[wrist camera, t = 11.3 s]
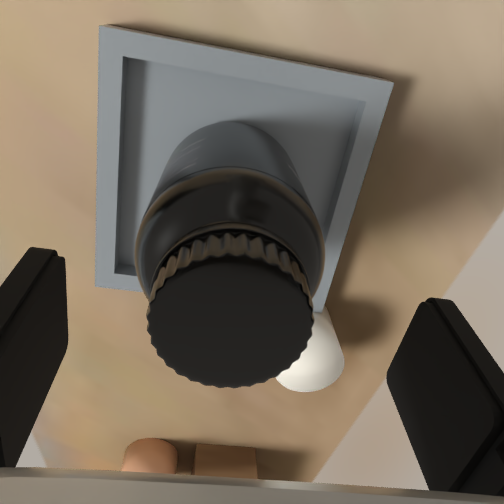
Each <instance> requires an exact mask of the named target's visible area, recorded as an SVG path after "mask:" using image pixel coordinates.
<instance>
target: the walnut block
mask: <svg viewBox="0 0 504 504" xmlns="http://www.w3.org/2000/svg"><path fill="white" fill-rule="evenodd" d="M191 475H198V476H215V477H232V478H248V479H258V477H257V463H256V449H255V448H251V447H238V446H224V445H210V444H197V446H196V451H195V456H194V462H193V467H192V473H191Z"/></svg>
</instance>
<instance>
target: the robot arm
mask: <svg viewBox="0 0 504 504" xmlns="http://www.w3.org/2000/svg"><path fill="white" fill-rule="evenodd" d="M67 345H68V318H67V293H66V268H65V258H64V257H60V256H58V254H57V251H56V250H52V249H44V248H36V247H30V248H29V249H28V250H27V252H26V253H25V254H24V256H23V257H22V258H21V260H20V261H19V262H18V264H17V265H16V266H15V268H14V269H13V270H12V272H11V273H10V274H9V276H8V277H7V278H6V280H5V281H4V282H3V284H2V285H1V286H0V504H504V373H503V371H502V370H501V369H500V367H499V366H498V364H497V363H496V362H495V361H494V359H493V357H492V356H491V354H490V353H489V352H488V350H487V349H486V347H485V346H484V345H483V343H482V342H481V340H480V339H479V338H478V336H477V335H476V334H475V332H474V330H473V329H472V327H471V326H470V325H469V323H468V322H467V320H466V319H465V318H464V316H463V315H462V313H461V312H460V311H459V309H458V308H457V306H456V305H455V303H454V302H453V301H451V300H447V299H439V298H428V299H427V300H426V301H425V302H421V303H420V304H419V306H418V308H417V310H416V312H415V314H414V316H413V319H412V321H411V323H410V325H409V327H408V329H407V331H406V333H405V335H404V337H403V339H402V342H401V344H400V346H399V348H398V350H397V352H396V354H395V356H394V358H393V360H392V363H391V365H390V367H389V369H388V371H387V384H388V387H389V389H390V392H391V394H392V397H393V400H394V402H395V405H396V407H397V410H398V412H399V415H400V417H401V420H402V422H403V425H404V427H405V430H406V432H407V435H408V437H409V440H410V443H411V445H412V447H413V450H414V453H415V455H416V458H417V460H418V463H419V465H420V467H421V470H422V473H423V475H424V478H425V480H426V483H427V485H428V488H429V491H428V490H415V489H399V488H386V487H385V488H384V487H371V486H357V485H341V484H326V483H311V482H296V481H280V480H264V479H248V478H232V477H215V476H198V475H181V474H164V473H147V472H129V471H111V470H88V469H64V468H40V467H39V468H38V467H28V468H27V467H26V468H25V467H17V468H16V464H17V462H18V460H19V458H20V455H21V453H22V451H23V448H24V446H25V444H26V441H27V439H28V437H29V435H30V433H31V430H32V428H33V426H34V423H35V421H36V419H37V417H38V414H39V412H40V410H41V408H42V405H43V403H44V401H45V398H46V396H47V394H48V392H49V389H50V387H51V385H52V382H53V380H54V378H55V376H56V373H57V371H58V369H59V367H60V364H61V362H62V360H63V357H64V355H65V353H66V350H67Z"/></svg>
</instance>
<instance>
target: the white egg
mask: <svg viewBox="0 0 504 504" xmlns="http://www.w3.org/2000/svg"><path fill="white" fill-rule="evenodd" d="M313 315H314V324H313V327H312V336H311V338H310V339H309V340H308V342H307V348H306V349H305V350H304V351H303V352H302V353H301V356H300V358H299V359H298V360H297V361H295V362H293V363H292V365H291V367H290V368H289V369H287V370H284V371H282V372H281V373H280V374H279V375H278V376H277V377H276V379H277V380H278V381H279V382H280V383H281V384H282V385H283V386H284V387H286V388H288V389H291V390H294V391H298V392H312V391H317V390H320V389H323V388H325V387H327V386H329V385H331V384H332V383H333V382H334V381H336V380H337V379H338V377H339V376H340V375H341V373H342V371H343V368H344V356H343V353H342V350H341V347H340V344H339V342H338V339H337V336H336V333H335V330H334V327H333V324H332V321H331V318H330V315H329V313H328V310H327V308H326V307H325V306H324V307H323V310H322V313H318V312H313Z"/></svg>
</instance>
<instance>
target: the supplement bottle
mask: <svg viewBox="0 0 504 504" xmlns="http://www.w3.org/2000/svg"><path fill="white" fill-rule="evenodd" d="M134 260H135V269H136V273H137V278H138V280H139V283H140V286H141V288H142V290H143V292H144V294H145V296H146V298H147V299H148V301H149V306H148V309H147V313H146V316H147V320H148V325H147V331H148V333H149V334H150V335H151V344H152V345H153V346H154V347H155V348H156V349H157V355H158V356H159V357H161V358H162V359H164V361H165V363H166V365H167V366H168V367H170V368H173V369H174V370H175V371H176V373H177V374H179V375H182V376H186V377H187V378H188V379H189V380H190V381H195V382H200V383H201V384H203V385H206V386H212V385H213V386H216V387H218V388H224V387H231V388H238V387H241V386H248V387H250V386H252V385H254V384H256V383H264V382H266V381H267V380H268V379H270V378H274V377H277V376H278V375H279V374H280V373H281V372H282V371H284V370H287V369H289V368H290V367H291V365H292V363H293V362H295V361H297V360H298V359H299V358H300V356H301V353H302V352H303V351H304V350H305V349H306V348H307V342H308V340H309V339H310V338H311V336H312V327H313V324H314V315H313V307H314V306H313V302H312V298H313V297H314V295H315V293H316V291H317V289H318V287H319V285H320V282H321V279H322V276H323V272H324V266H325V244H324V239H323V234H322V231H321V228H320V225H319V222H318V219H317V217H316V215H315V213H314V210H313V208H312V206H311V203H310V201H309V199H308V197H307V194H306V192H305V190H304V188H303V185H302V183H301V181H300V178H299V176H298V174H297V172H296V169H295V167H294V165H293V163H292V161H291V159H290V157H289V156H288V154H287V152H286V151H285V150H284V148H283V147H282V146H281V145H280V144H279V142H278V141H277V140H275V139H274V138H273V137H272V136H271V135H269V134H268V133H266V132H265V131H263V130H261V129H259V128H257V127H255V126H252V125H249V124H244V123H239V122H220V123H214V124H211V125H207V126H205V127H202V128H200V129H198V130H196V131H194V132H193V133H191V134H190V135H188V136H187V137H186V138H185V139H184V140H183V141H182V142H181V143H180V144H179V145H178V146H177V147H176V149H175V150H174V151H173V153H172V155H171V156H170V158H169V160H168V162H167V164H166V166H165V168H164V171H163V173H162V175H161V177H160V180H159V182H158V184H157V187H156V189H155V191H154V193H153V196H152V198H151V200H150V203H149V205H148V207H147V209H146V212H145V214H144V216H143V219H142V221H141V224H140V227H139V230H138V234H137V238H136V242H135V250H134Z"/></svg>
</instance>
